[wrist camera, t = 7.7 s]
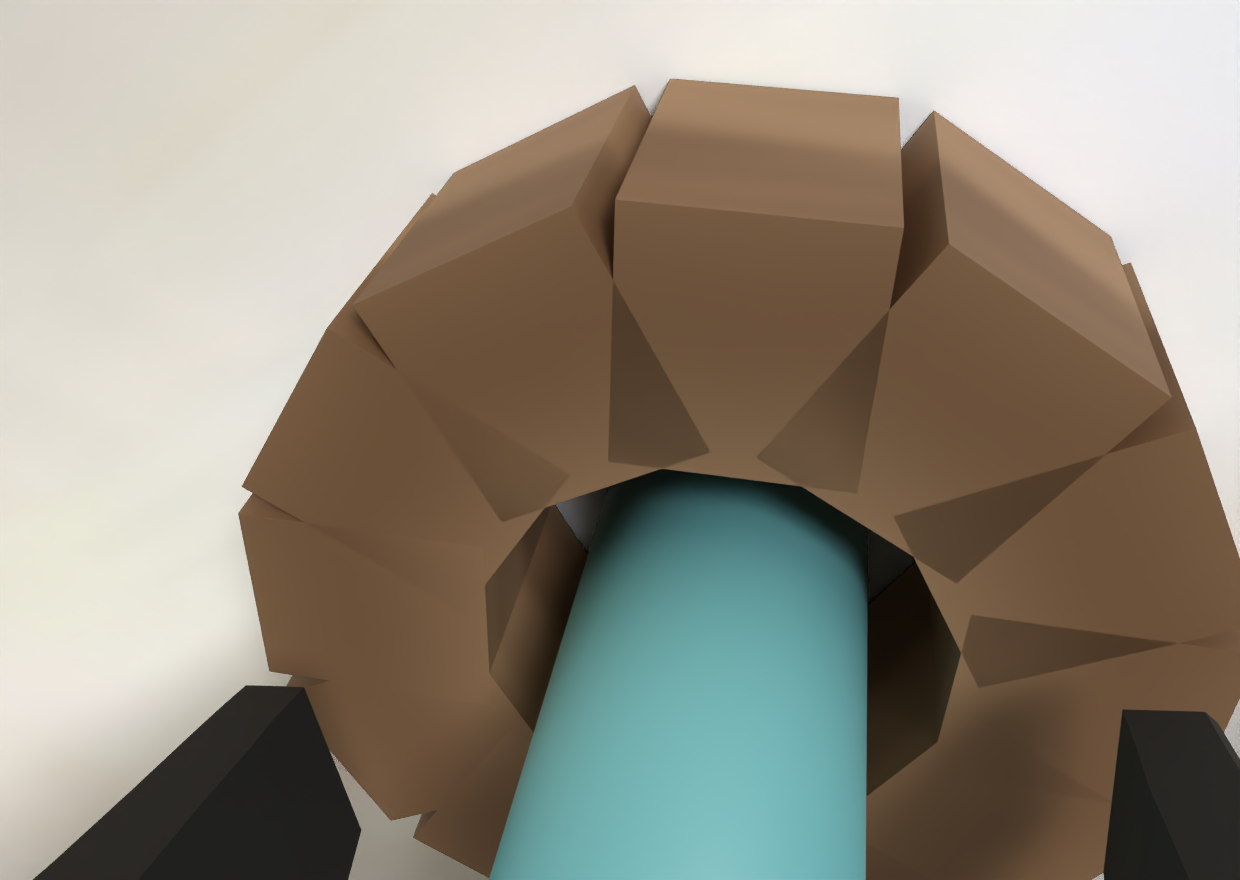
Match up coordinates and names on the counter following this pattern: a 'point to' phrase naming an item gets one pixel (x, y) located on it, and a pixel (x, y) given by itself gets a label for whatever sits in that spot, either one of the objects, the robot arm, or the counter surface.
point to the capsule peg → (704, 694)
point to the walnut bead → (754, 460)
